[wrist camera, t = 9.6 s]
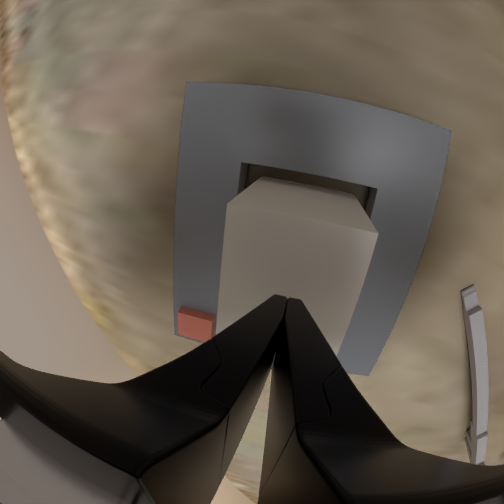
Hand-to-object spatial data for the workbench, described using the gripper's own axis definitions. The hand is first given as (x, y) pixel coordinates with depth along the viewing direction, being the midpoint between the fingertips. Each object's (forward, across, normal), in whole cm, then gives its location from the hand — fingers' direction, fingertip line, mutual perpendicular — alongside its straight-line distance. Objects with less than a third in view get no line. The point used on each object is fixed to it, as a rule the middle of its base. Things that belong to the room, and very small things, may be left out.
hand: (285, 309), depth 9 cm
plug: (+7, 0, 0) cm, 7 cm away
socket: (+6, 0, 0) cm, 7 cm away
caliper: (+7, -17, +9) cm, 20 cm away
